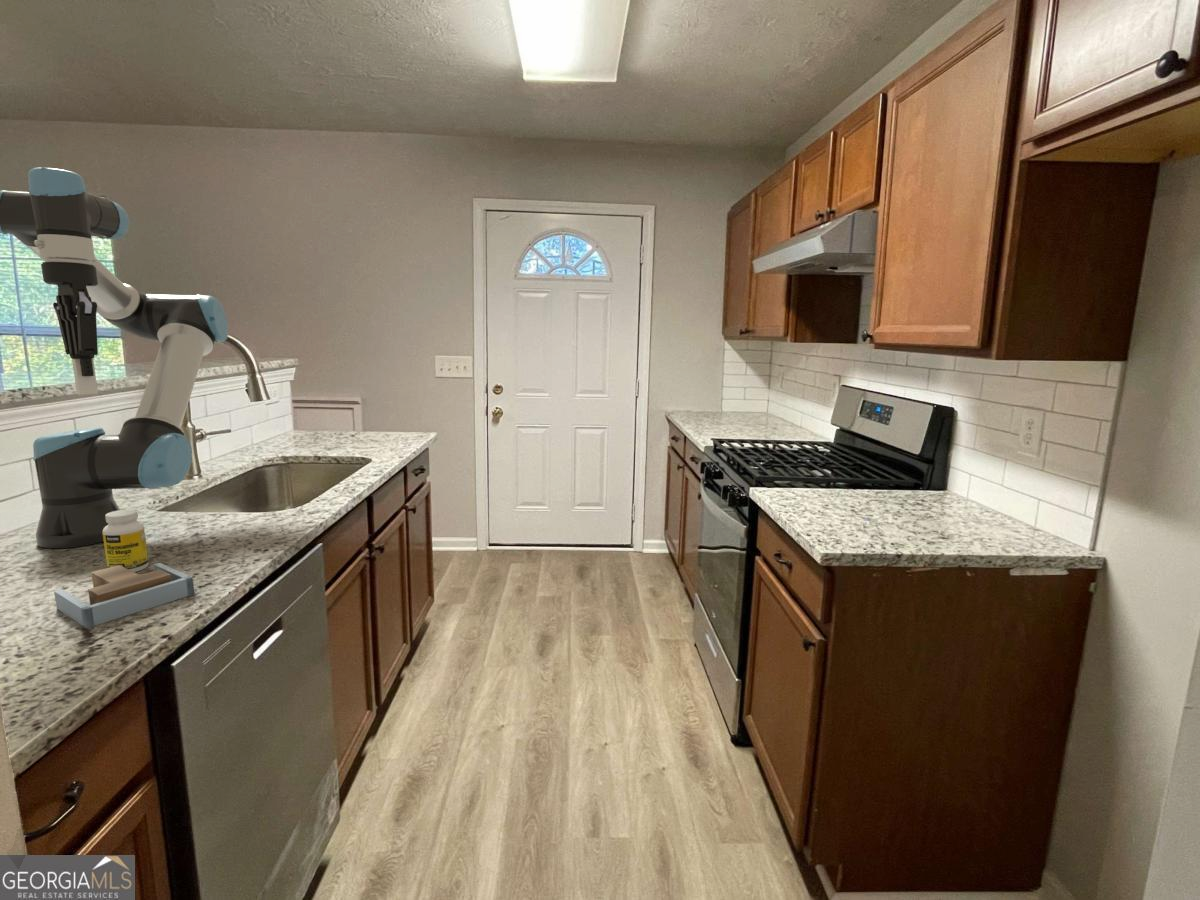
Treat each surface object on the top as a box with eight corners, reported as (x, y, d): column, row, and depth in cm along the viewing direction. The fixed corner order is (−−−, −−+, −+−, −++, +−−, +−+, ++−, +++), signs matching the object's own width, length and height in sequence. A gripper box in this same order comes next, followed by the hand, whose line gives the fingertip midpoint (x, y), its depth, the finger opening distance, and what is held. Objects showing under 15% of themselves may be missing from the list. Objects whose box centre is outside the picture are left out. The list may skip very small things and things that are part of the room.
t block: (72, 600, 102) (68, 577, 102) (142, 580, 111) (139, 559, 110) (101, 619, 96) (98, 595, 95) (173, 596, 104) (170, 574, 103)
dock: (56, 608, 99) (54, 591, 99) (162, 578, 112) (160, 562, 111) (86, 628, 93) (83, 609, 92) (194, 593, 105) (192, 577, 105)
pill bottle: (104, 577, 112) (95, 519, 110) (112, 566, 117) (103, 510, 115) (146, 572, 114) (138, 514, 112) (151, 561, 120) (144, 506, 118)
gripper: (28, 262, 111) (49, 393, 115) (55, 258, 104) (76, 397, 108) (80, 266, 117) (98, 390, 121) (108, 262, 110) (126, 394, 114)
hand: (87, 393), depth 115 cm, fingers closed
